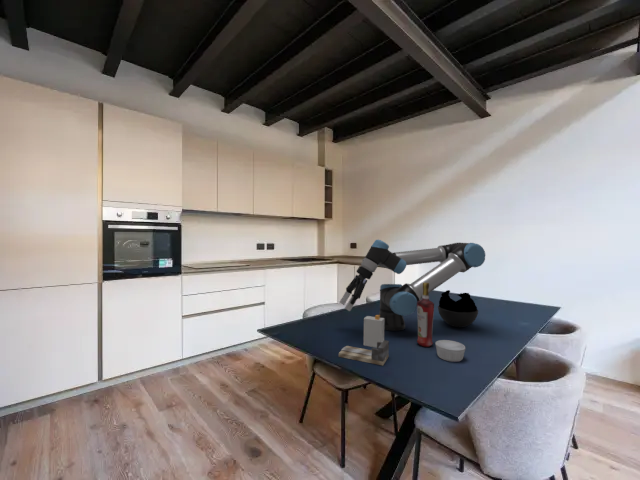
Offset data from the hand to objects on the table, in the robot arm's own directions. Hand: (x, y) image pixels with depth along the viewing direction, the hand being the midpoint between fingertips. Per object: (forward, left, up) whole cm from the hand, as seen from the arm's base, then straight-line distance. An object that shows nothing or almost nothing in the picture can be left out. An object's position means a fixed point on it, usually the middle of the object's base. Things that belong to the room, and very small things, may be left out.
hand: (344, 306), depth 146 cm
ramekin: (-38, +28, -15) cm, 50 cm away
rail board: (-3, +25, -14) cm, 29 cm away
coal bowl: (-65, -12, -15) cm, 68 cm away
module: (-11, +13, -14) cm, 22 cm away
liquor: (-34, +14, -15) cm, 40 cm away
